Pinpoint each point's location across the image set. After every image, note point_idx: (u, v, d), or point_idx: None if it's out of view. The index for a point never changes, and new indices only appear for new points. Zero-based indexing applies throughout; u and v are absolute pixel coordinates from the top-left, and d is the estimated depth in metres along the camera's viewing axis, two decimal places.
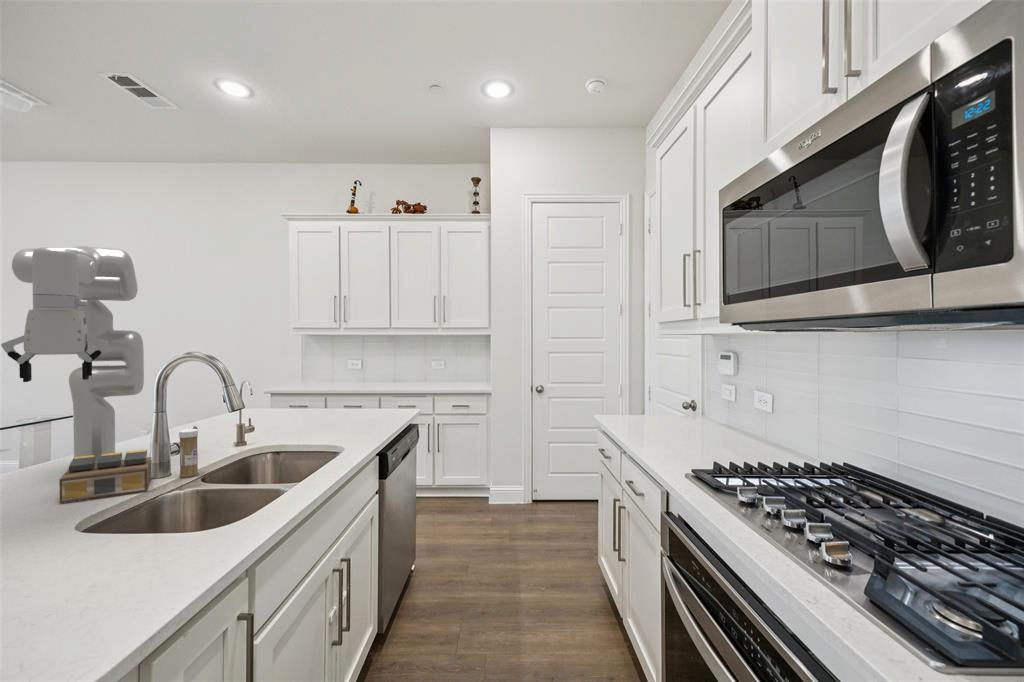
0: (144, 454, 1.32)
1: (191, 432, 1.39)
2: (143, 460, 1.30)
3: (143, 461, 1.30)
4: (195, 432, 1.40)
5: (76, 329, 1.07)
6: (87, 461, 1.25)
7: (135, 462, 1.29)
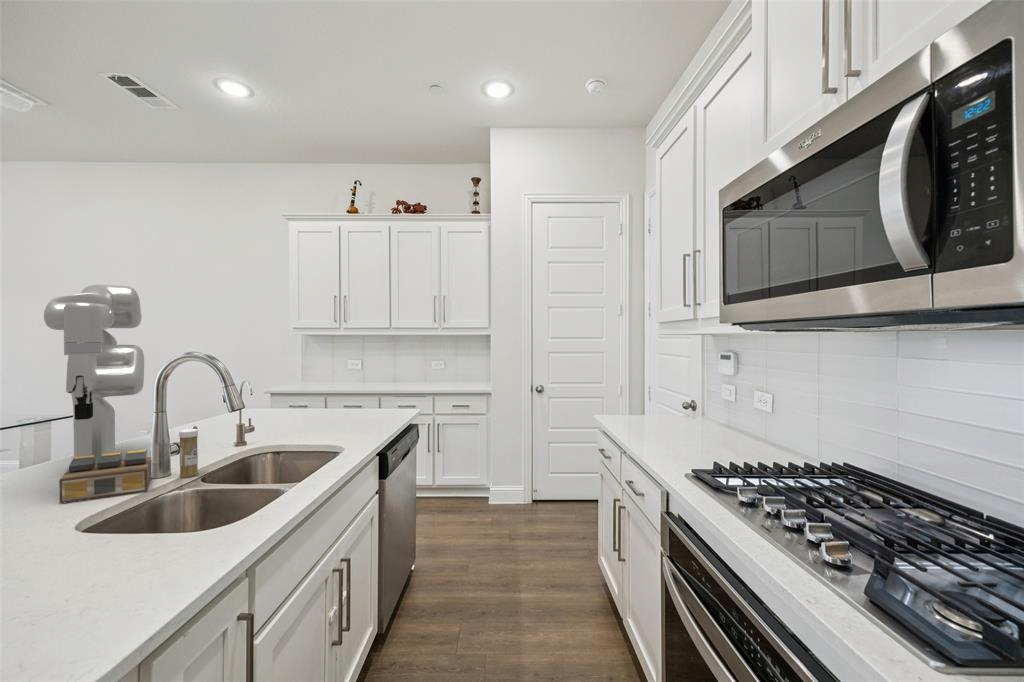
0: (144, 454, 1.32)
1: (191, 432, 1.39)
2: (143, 460, 1.30)
3: (143, 461, 1.30)
4: (195, 432, 1.40)
5: None
6: (87, 461, 1.25)
7: (135, 462, 1.29)
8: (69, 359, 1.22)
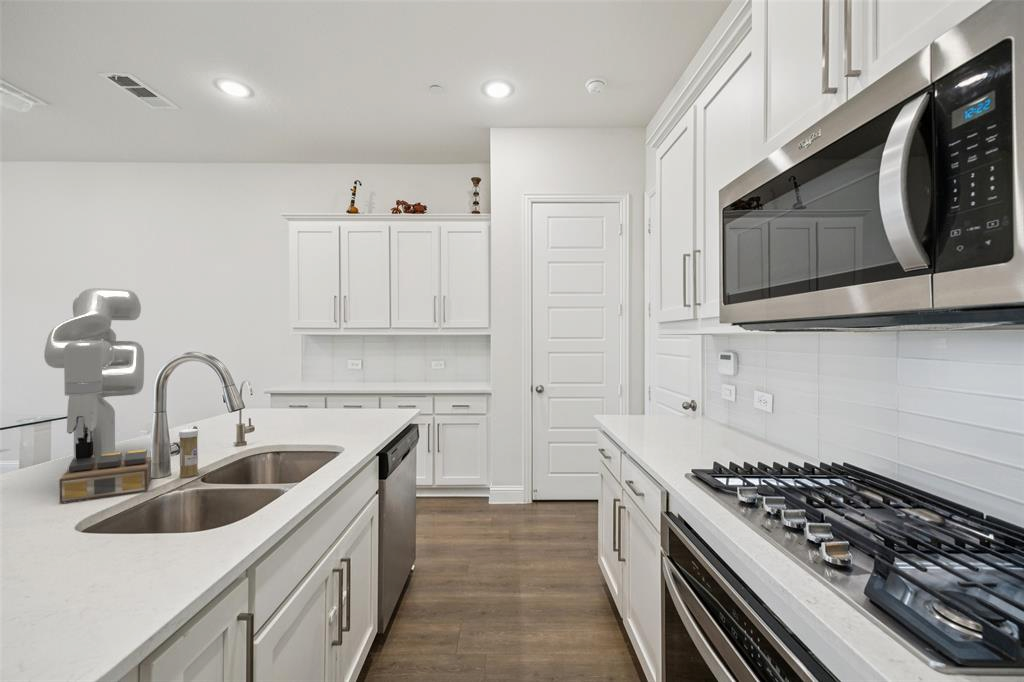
0: (144, 454, 1.32)
1: (191, 432, 1.39)
2: (143, 460, 1.30)
3: (143, 461, 1.30)
4: (195, 432, 1.40)
5: (97, 406, 1.31)
6: (87, 461, 1.25)
7: (135, 462, 1.29)
8: (70, 400, 1.22)
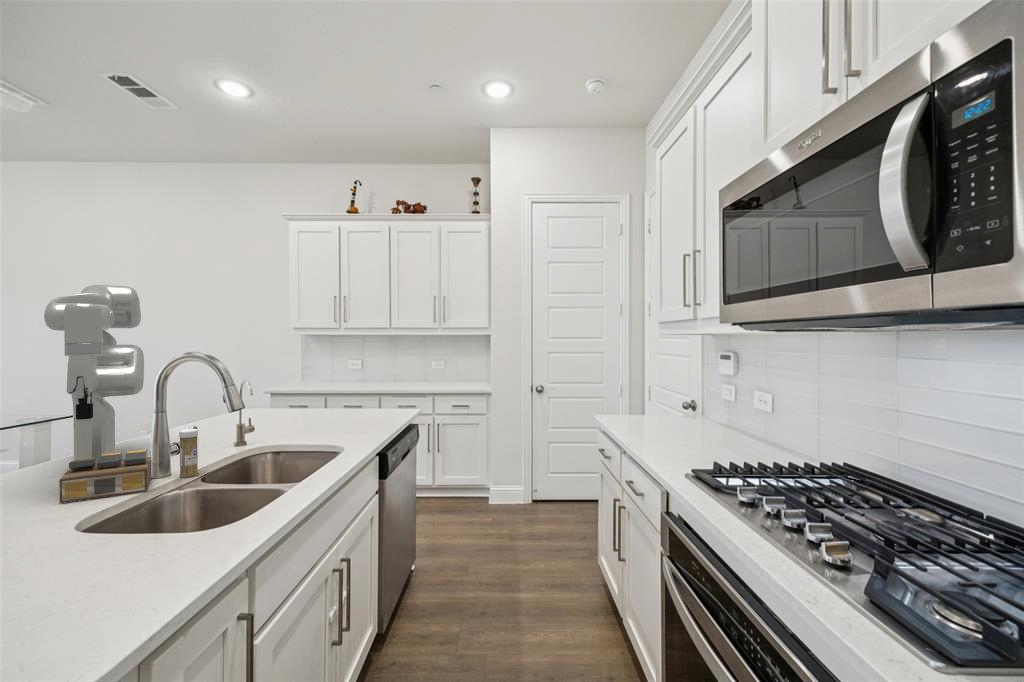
0: (144, 454, 1.32)
1: (191, 432, 1.39)
2: (143, 460, 1.30)
3: (143, 461, 1.30)
4: (195, 432, 1.40)
5: None
6: None
7: (135, 462, 1.29)
8: (70, 360, 1.22)
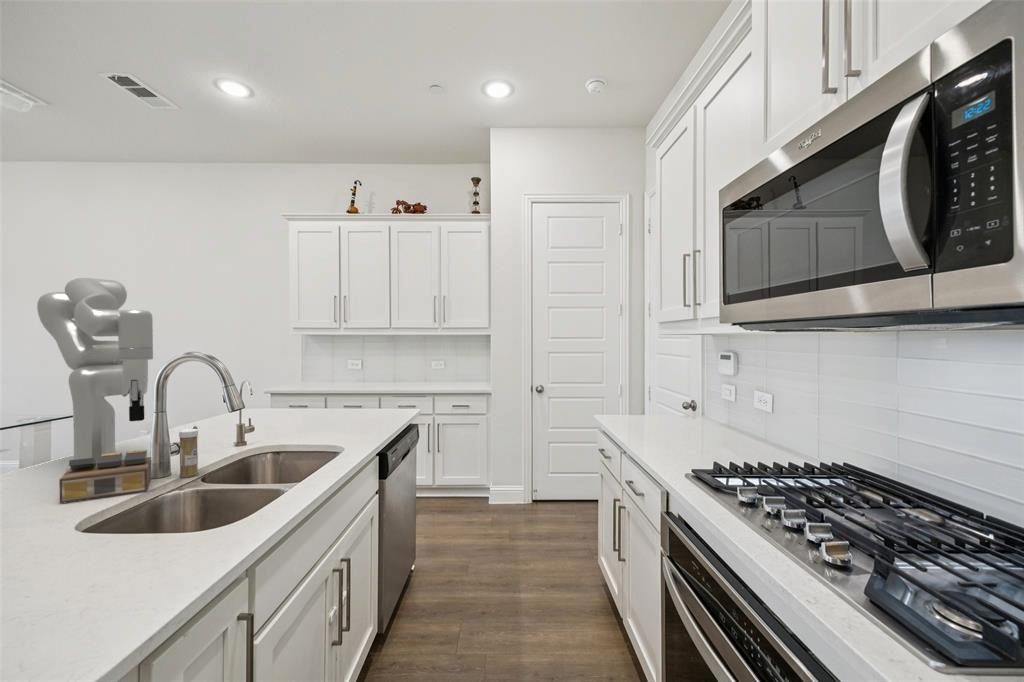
0: (144, 454, 1.32)
1: (191, 432, 1.39)
2: (143, 460, 1.30)
3: (143, 461, 1.30)
4: (195, 432, 1.40)
5: None
6: None
7: (135, 462, 1.29)
8: (124, 364, 1.28)
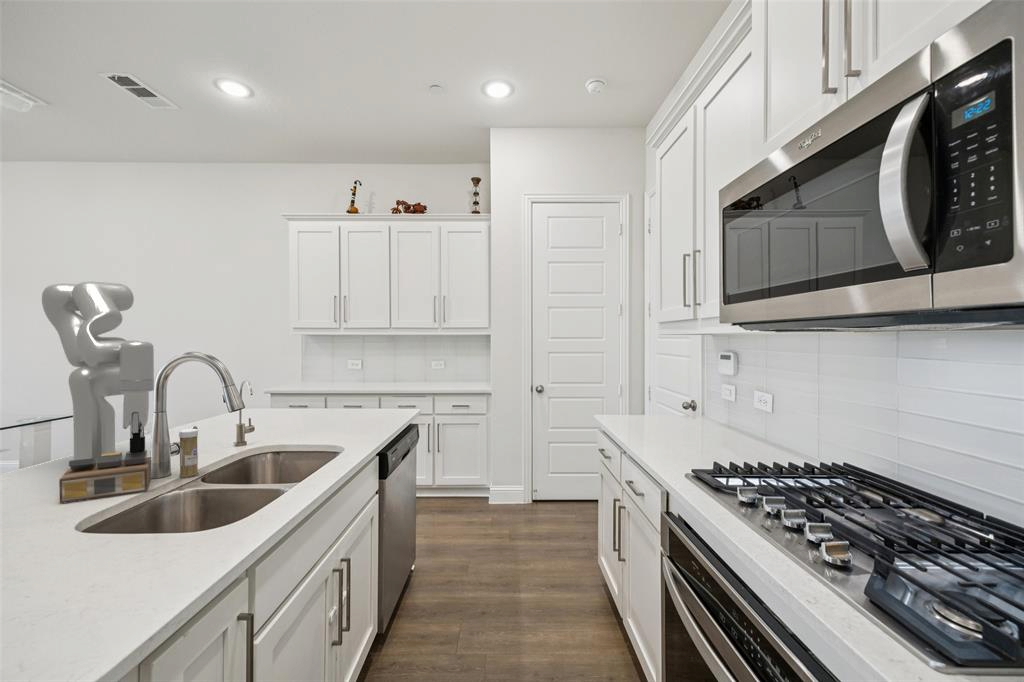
0: (144, 454, 1.32)
1: (191, 432, 1.39)
2: (143, 460, 1.30)
3: (143, 461, 1.30)
4: (195, 432, 1.40)
5: None
6: None
7: (135, 462, 1.29)
8: (125, 397, 1.28)
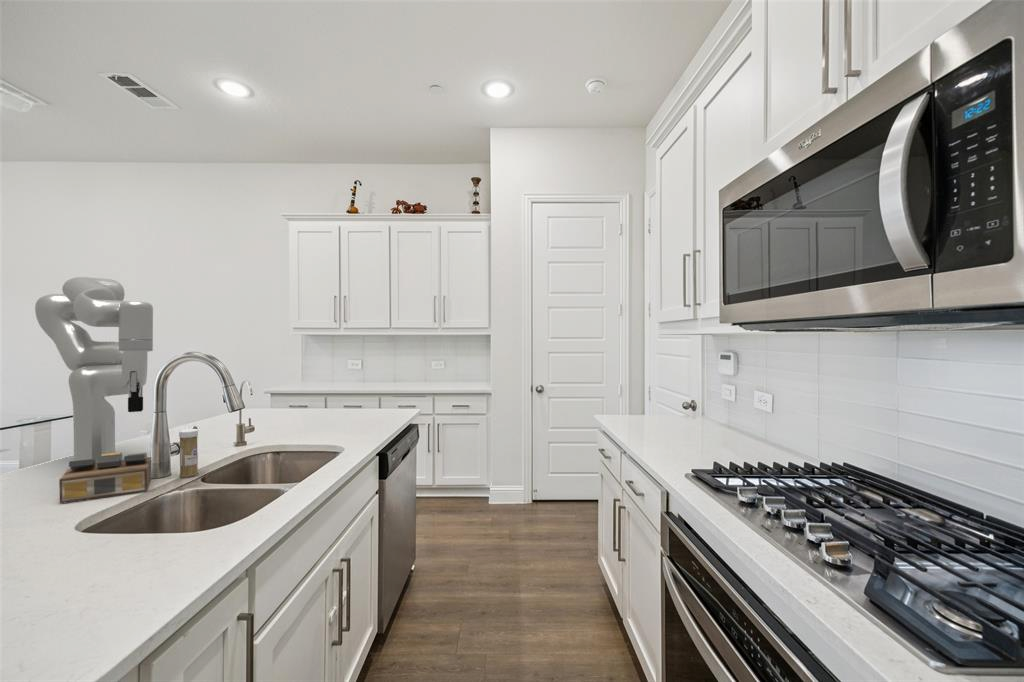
0: (144, 453, 1.32)
1: (191, 432, 1.39)
2: (143, 456, 1.30)
3: (143, 457, 1.30)
4: (195, 432, 1.40)
5: None
6: None
7: (135, 458, 1.29)
8: (124, 355, 1.29)
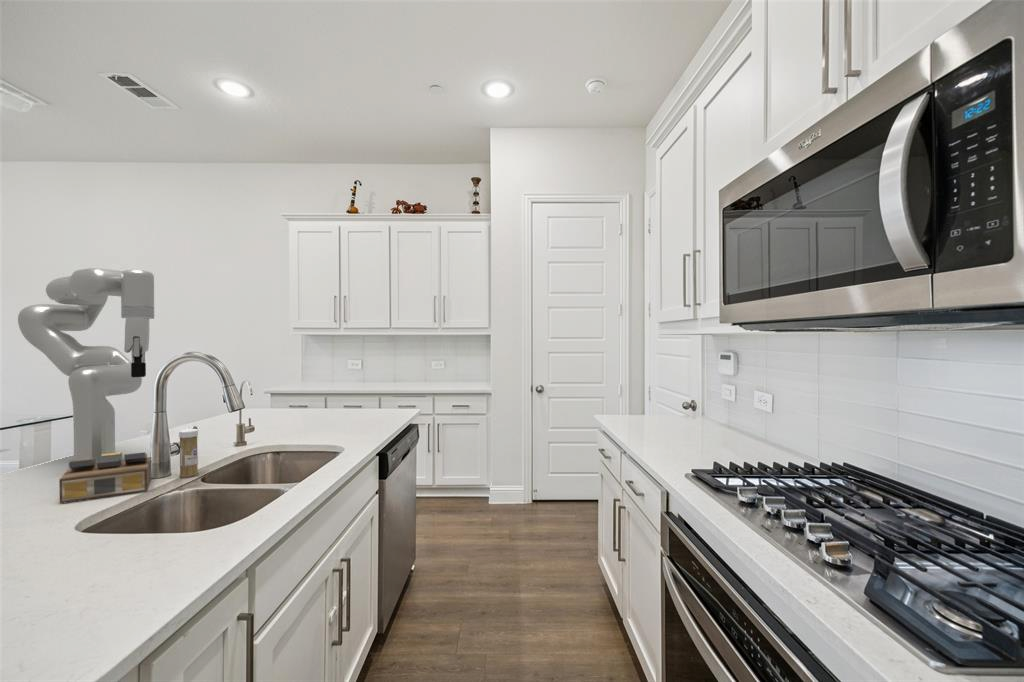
0: None
1: (191, 432, 1.39)
2: (143, 454, 1.30)
3: (143, 456, 1.30)
4: (195, 432, 1.40)
5: None
6: None
7: (135, 457, 1.29)
8: (127, 321, 1.33)
